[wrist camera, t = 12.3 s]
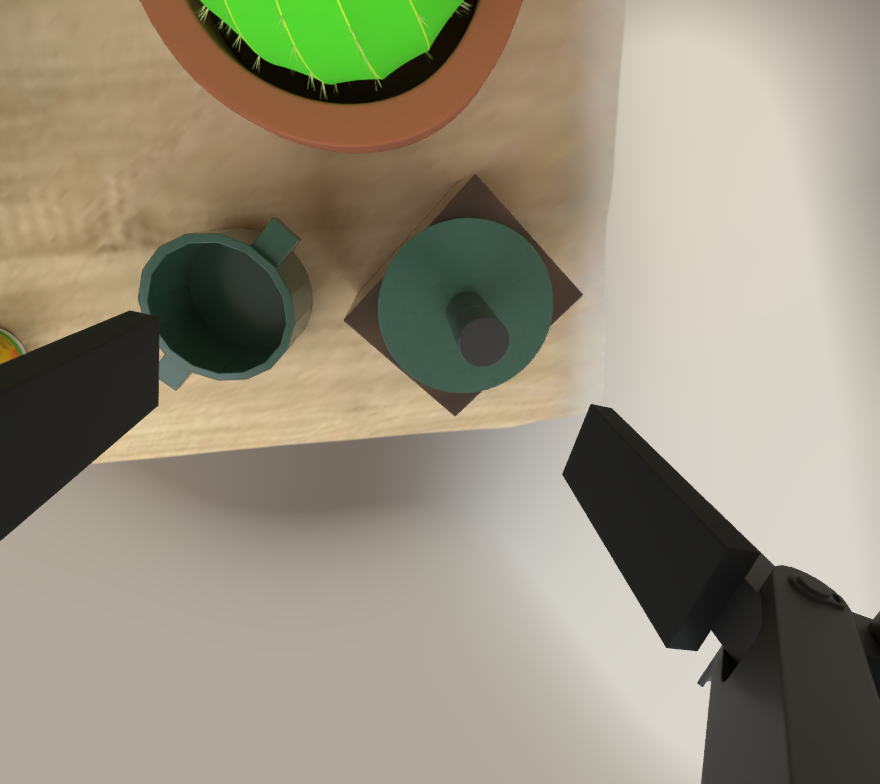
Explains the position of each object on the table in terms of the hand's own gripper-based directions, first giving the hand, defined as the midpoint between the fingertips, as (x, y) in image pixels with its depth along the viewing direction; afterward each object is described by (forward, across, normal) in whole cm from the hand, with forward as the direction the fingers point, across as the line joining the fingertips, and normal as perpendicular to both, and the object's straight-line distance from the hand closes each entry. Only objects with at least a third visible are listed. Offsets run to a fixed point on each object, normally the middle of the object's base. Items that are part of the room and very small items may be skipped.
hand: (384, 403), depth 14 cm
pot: (+32, -13, -6) cm, 35 cm away
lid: (+20, +6, 0) cm, 21 cm away
